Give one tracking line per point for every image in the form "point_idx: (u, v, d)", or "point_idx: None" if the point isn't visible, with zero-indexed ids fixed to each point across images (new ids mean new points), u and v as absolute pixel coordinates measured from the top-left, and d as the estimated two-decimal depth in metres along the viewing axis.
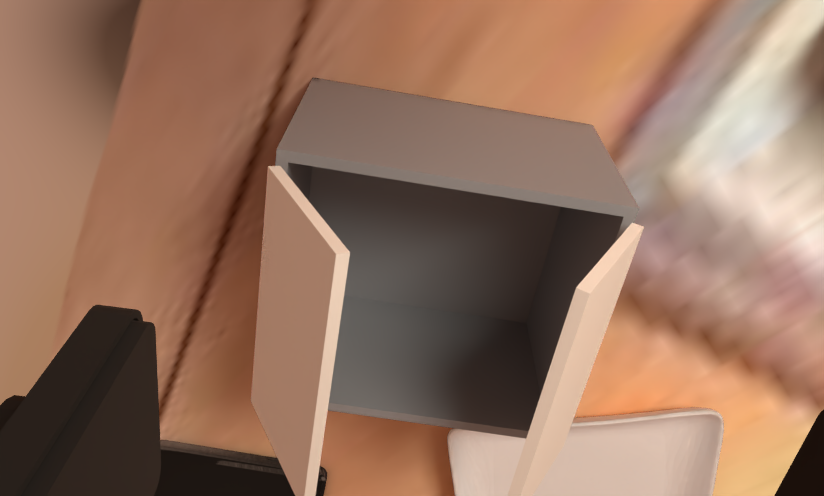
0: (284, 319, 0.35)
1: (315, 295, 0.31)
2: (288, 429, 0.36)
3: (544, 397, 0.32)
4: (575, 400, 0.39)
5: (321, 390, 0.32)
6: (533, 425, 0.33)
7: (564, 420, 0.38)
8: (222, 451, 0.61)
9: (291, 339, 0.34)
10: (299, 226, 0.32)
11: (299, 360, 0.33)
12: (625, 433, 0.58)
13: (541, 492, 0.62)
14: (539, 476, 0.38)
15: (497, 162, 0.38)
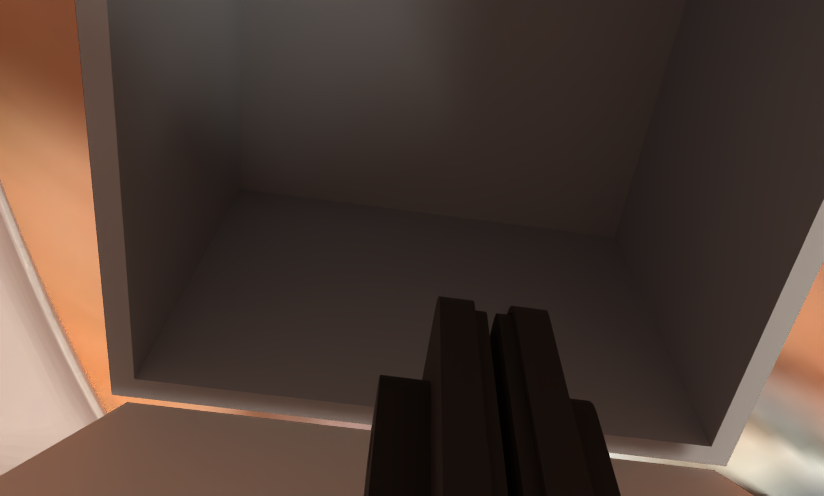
0: None
1: None
2: None
3: None
4: None
5: None
6: None
7: None
8: None
9: None
10: None
11: None
12: (37, 372, 0.32)
13: None
14: None
15: None
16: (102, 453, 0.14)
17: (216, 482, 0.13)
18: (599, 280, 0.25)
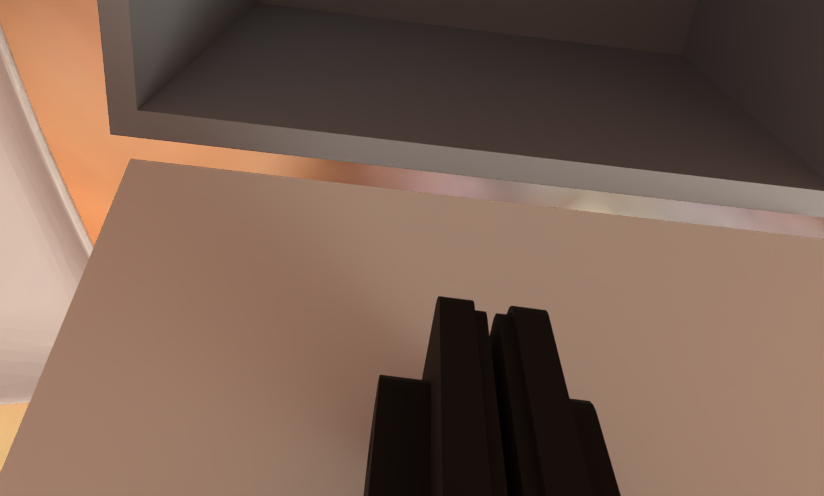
0: None
1: None
2: None
3: None
4: None
5: None
6: None
7: None
8: None
9: None
10: None
11: None
12: (35, 238, 0.29)
13: None
14: None
15: None
16: (114, 348, 0.12)
17: (240, 408, 0.12)
18: (672, 79, 0.22)
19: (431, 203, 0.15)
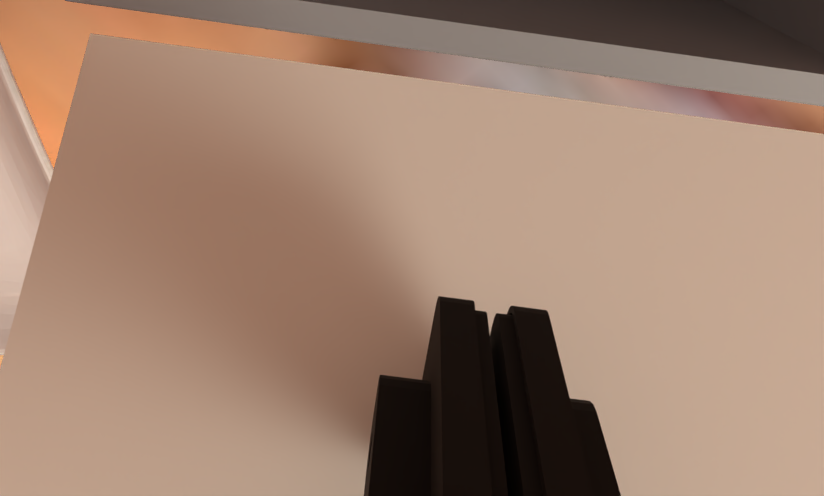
0: None
1: None
2: None
3: None
4: None
5: None
6: None
7: None
8: None
9: None
10: None
11: None
12: None
13: None
14: None
15: None
16: (91, 261, 0.12)
17: (222, 327, 0.12)
18: None
19: (423, 91, 0.14)
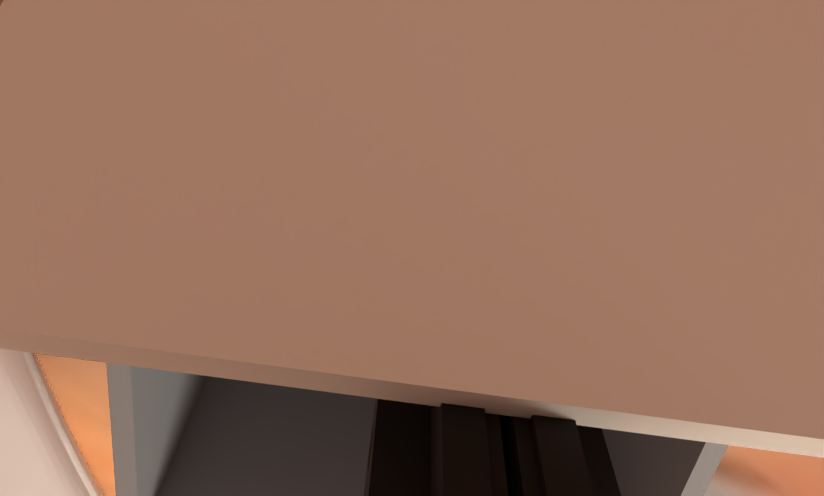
0: (599, 109, 0.10)
1: None
2: (179, 151, 0.09)
3: None
4: None
5: (543, 405, 0.08)
6: None
7: None
8: None
9: (573, 163, 0.10)
10: None
11: (544, 229, 0.09)
12: (44, 464, 0.35)
13: None
14: None
15: None
16: None
17: None
18: None
19: None
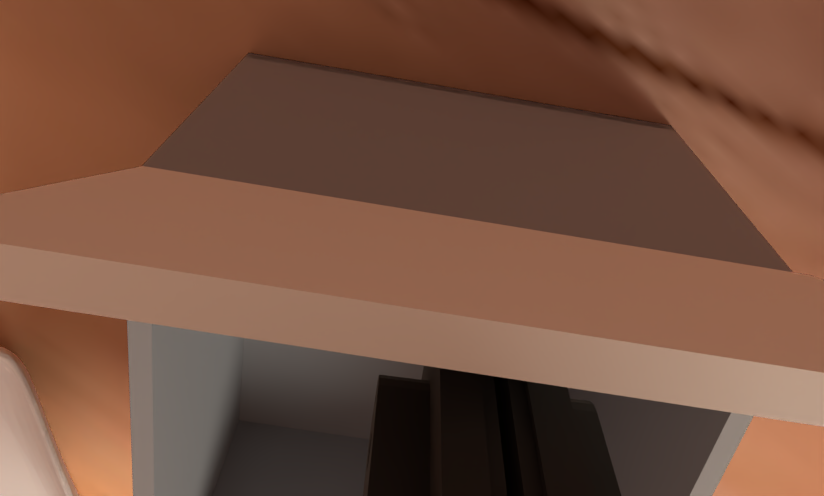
0: (574, 264, 0.12)
1: None
2: (220, 228, 0.10)
3: None
4: None
5: (600, 352, 0.08)
6: None
7: None
8: None
9: (564, 274, 0.11)
10: None
11: (556, 287, 0.10)
12: None
13: None
14: None
15: None
16: None
17: None
18: None
19: None
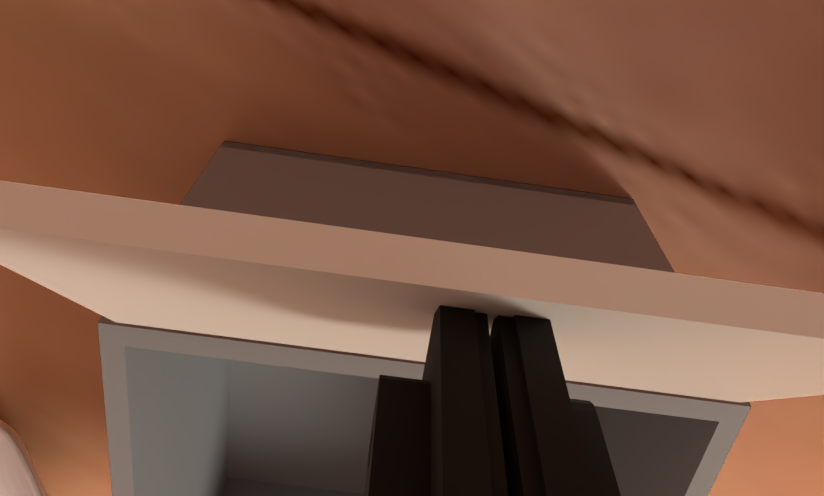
0: None
1: None
2: None
3: None
4: None
5: (536, 267, 0.09)
6: None
7: None
8: None
9: None
10: None
11: None
12: None
13: None
14: None
15: None
16: None
17: None
18: None
19: None
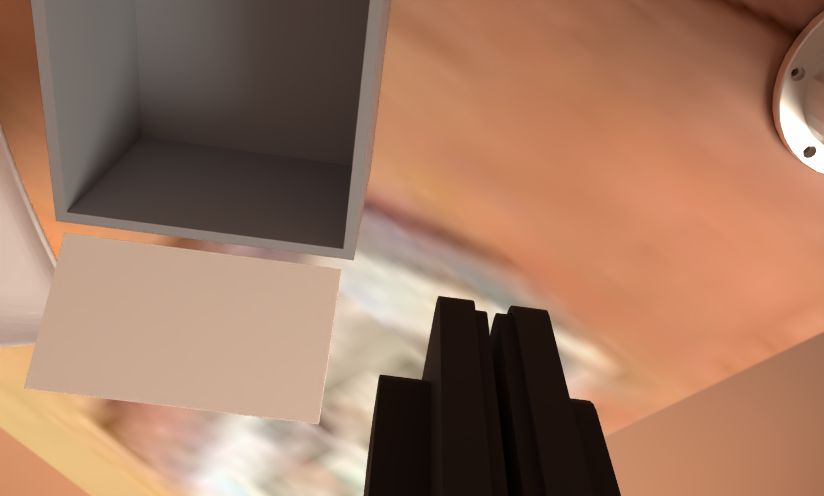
0: None
1: None
2: None
3: None
4: None
5: None
6: None
7: None
8: None
9: None
10: None
11: None
12: (23, 253, 0.53)
13: None
14: None
15: (371, 121, 0.39)
16: (63, 313, 0.37)
17: (105, 335, 0.37)
18: (335, 185, 0.46)
19: (180, 252, 0.39)
